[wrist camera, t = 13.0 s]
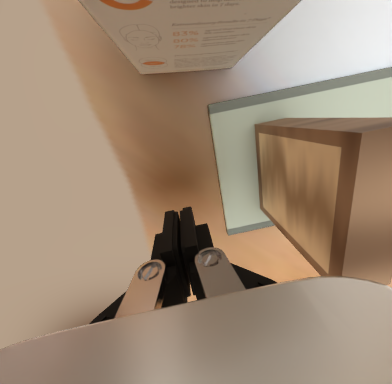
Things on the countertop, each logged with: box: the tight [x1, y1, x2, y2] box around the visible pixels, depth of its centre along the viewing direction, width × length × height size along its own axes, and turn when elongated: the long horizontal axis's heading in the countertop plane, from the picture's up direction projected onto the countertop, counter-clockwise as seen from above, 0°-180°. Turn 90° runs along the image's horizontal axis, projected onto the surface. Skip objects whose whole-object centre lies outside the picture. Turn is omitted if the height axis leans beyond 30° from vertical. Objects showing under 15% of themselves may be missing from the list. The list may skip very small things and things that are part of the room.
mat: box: [208, 67, 392, 235], centre depth 20 cm, size 14×23×1 cm, turn 101°
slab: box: [255, 117, 392, 285], centre depth 14 cm, size 9×3×11 cm, turn 11°
